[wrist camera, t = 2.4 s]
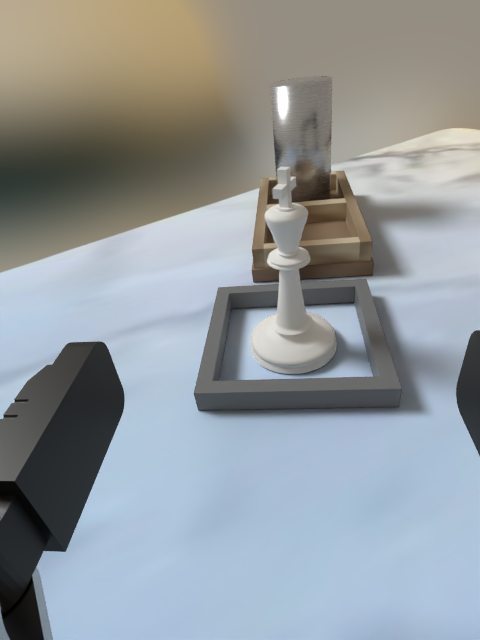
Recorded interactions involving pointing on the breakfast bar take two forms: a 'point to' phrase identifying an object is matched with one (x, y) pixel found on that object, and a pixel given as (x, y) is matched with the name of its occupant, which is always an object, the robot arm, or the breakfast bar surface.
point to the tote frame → (298, 391)
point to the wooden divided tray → (318, 235)
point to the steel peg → (304, 134)
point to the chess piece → (290, 295)
